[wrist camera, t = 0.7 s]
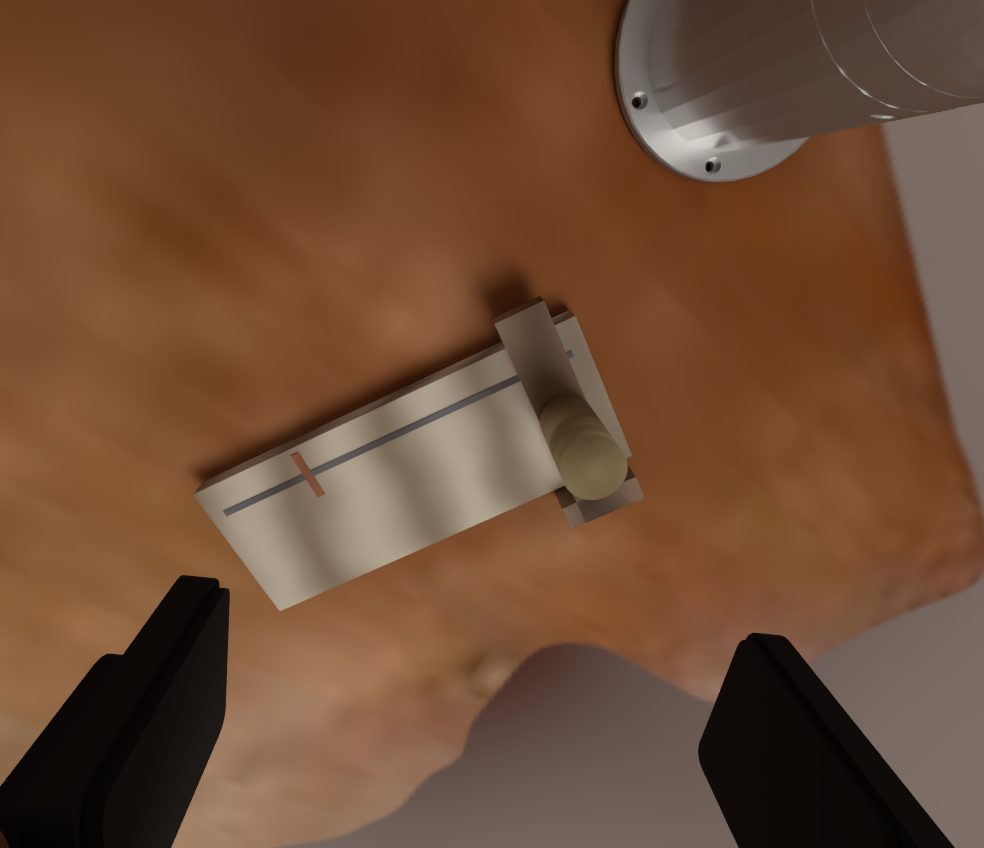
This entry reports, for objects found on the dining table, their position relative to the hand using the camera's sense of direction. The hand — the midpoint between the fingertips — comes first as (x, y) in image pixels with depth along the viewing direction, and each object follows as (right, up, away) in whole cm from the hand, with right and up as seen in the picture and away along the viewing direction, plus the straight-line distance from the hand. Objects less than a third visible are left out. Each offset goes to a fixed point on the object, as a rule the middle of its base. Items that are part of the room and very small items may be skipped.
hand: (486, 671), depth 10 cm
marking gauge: (+4, +6, +28) cm, 28 cm away
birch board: (-5, +2, +28) cm, 29 cm away
